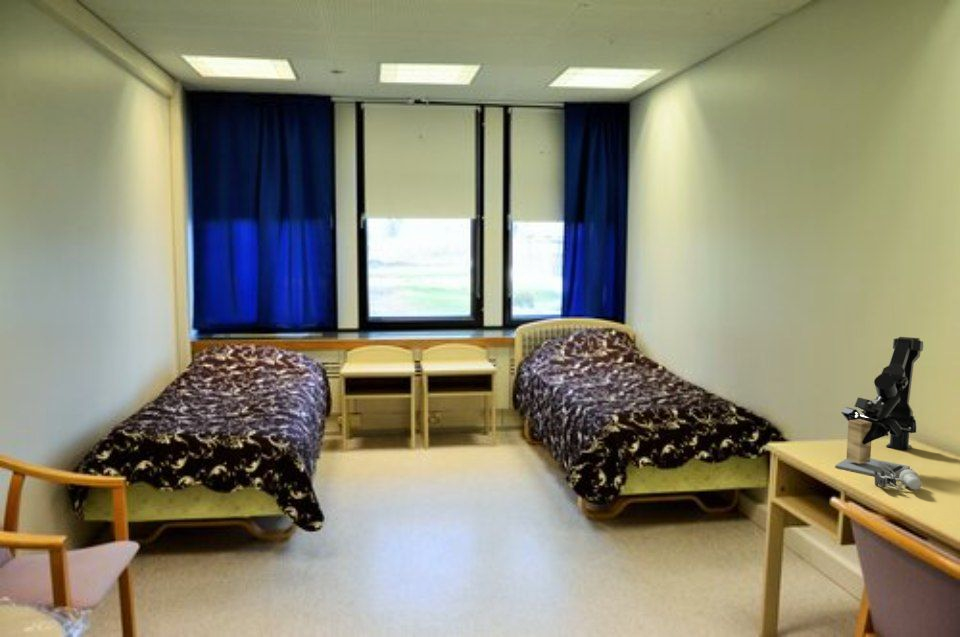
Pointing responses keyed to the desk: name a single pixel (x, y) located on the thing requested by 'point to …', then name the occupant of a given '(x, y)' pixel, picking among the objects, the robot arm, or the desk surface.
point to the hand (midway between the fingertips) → (856, 441)
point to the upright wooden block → (858, 441)
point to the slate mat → (871, 467)
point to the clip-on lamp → (905, 477)
